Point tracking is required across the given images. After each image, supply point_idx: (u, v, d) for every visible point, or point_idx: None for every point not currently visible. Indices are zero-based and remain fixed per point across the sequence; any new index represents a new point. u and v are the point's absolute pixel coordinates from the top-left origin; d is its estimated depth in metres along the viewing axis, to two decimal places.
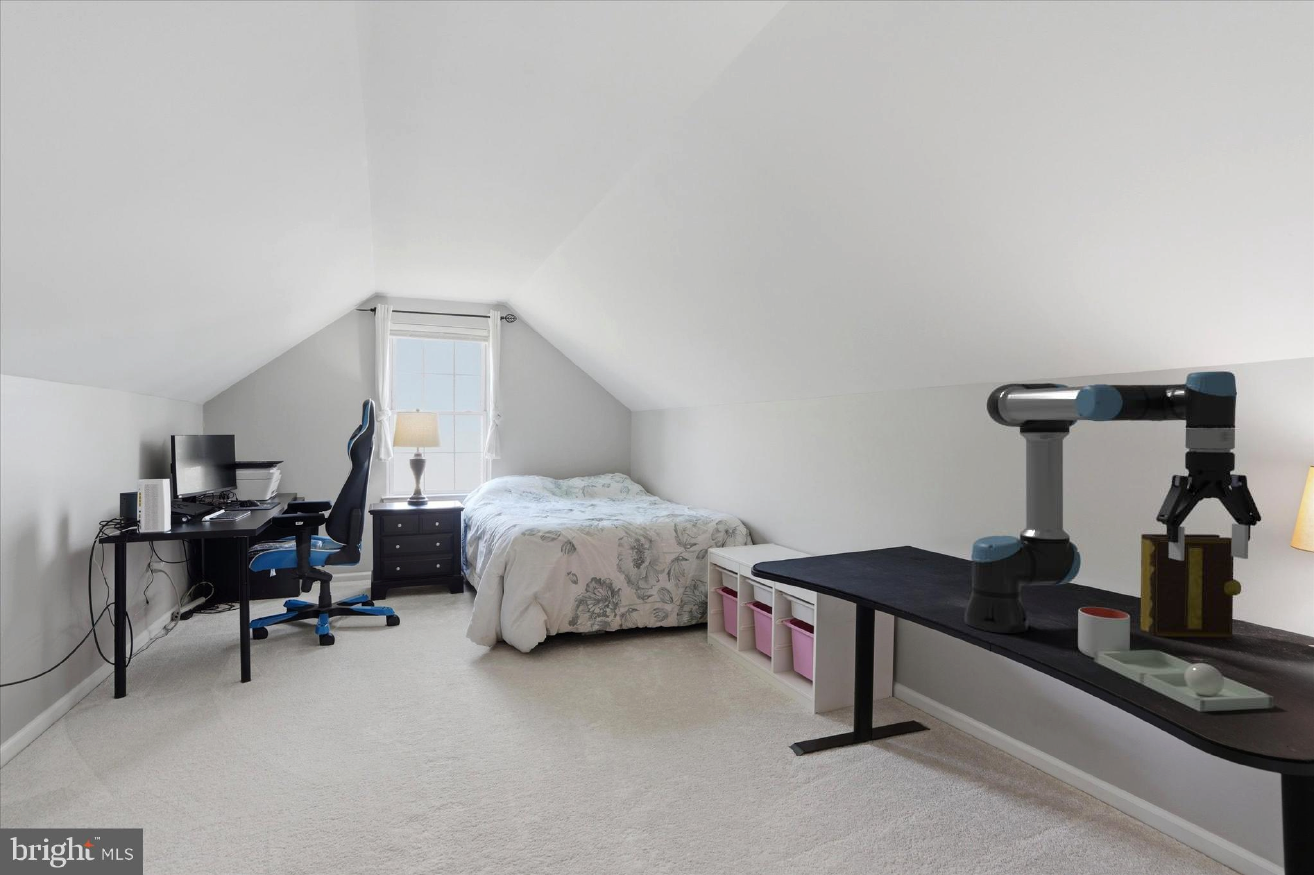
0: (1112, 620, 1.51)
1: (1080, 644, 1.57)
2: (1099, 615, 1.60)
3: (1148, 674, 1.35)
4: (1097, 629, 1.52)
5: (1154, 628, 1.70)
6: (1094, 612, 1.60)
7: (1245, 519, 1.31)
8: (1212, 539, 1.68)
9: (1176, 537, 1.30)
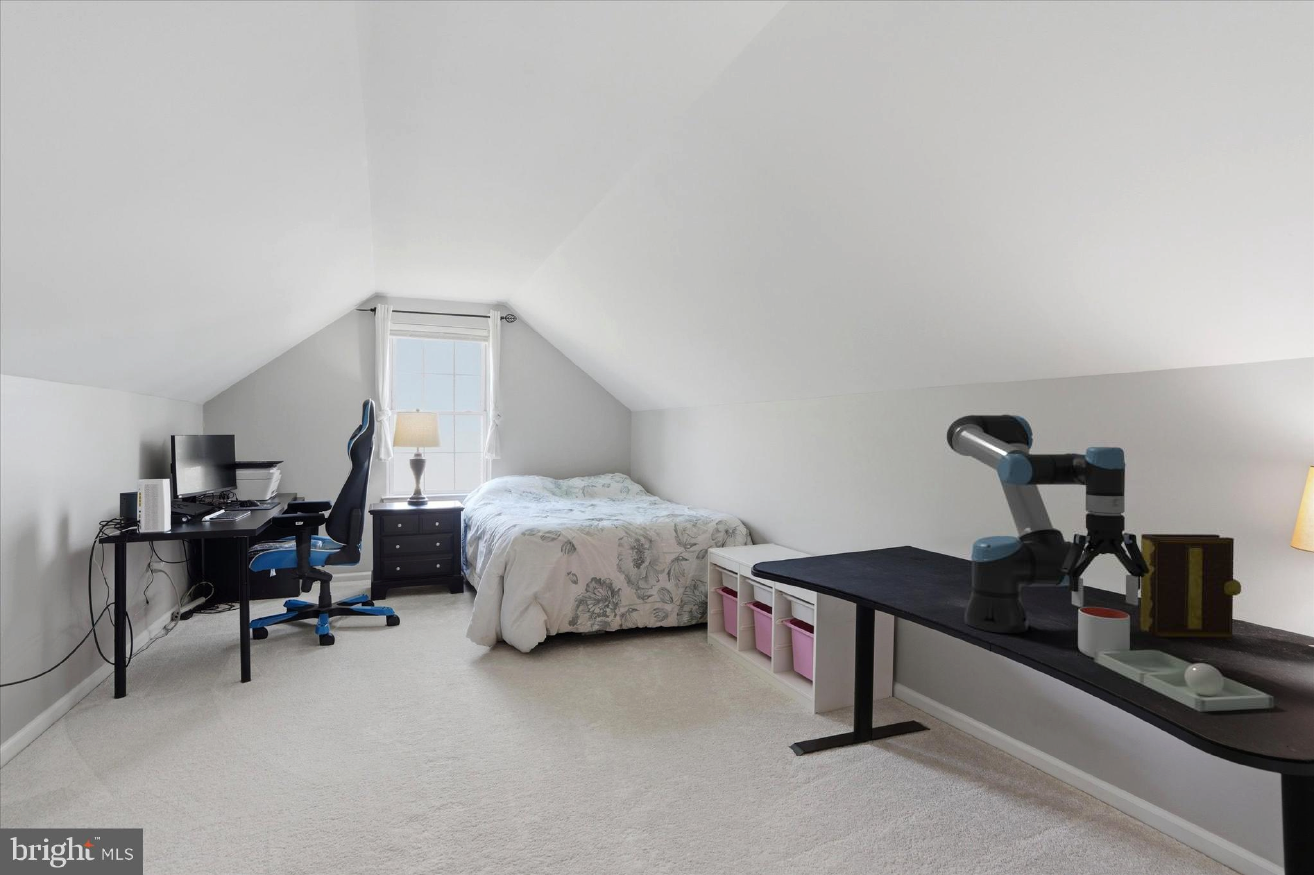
0: (1112, 620, 1.51)
1: (1080, 644, 1.57)
2: (1099, 615, 1.60)
3: (1148, 674, 1.35)
4: (1097, 629, 1.52)
5: (1154, 628, 1.70)
6: (1094, 612, 1.60)
7: (1135, 571, 1.55)
8: (1212, 539, 1.68)
9: (1077, 587, 1.54)
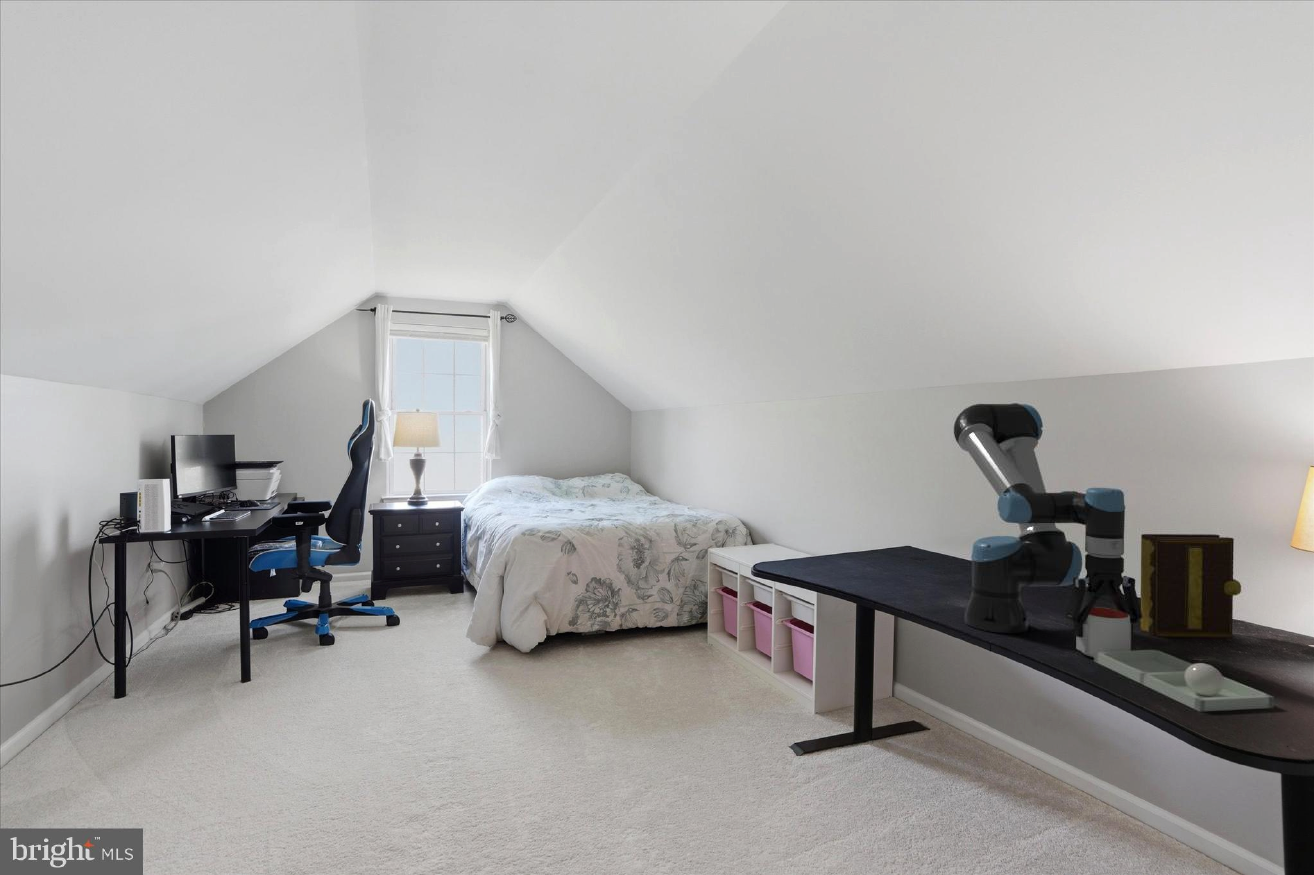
0: (1112, 620, 1.51)
1: None
2: (1099, 615, 1.60)
3: (1148, 674, 1.35)
4: (1097, 628, 1.52)
5: (1154, 628, 1.70)
6: (1094, 612, 1.60)
7: None
8: (1212, 539, 1.68)
9: (1081, 632, 1.55)
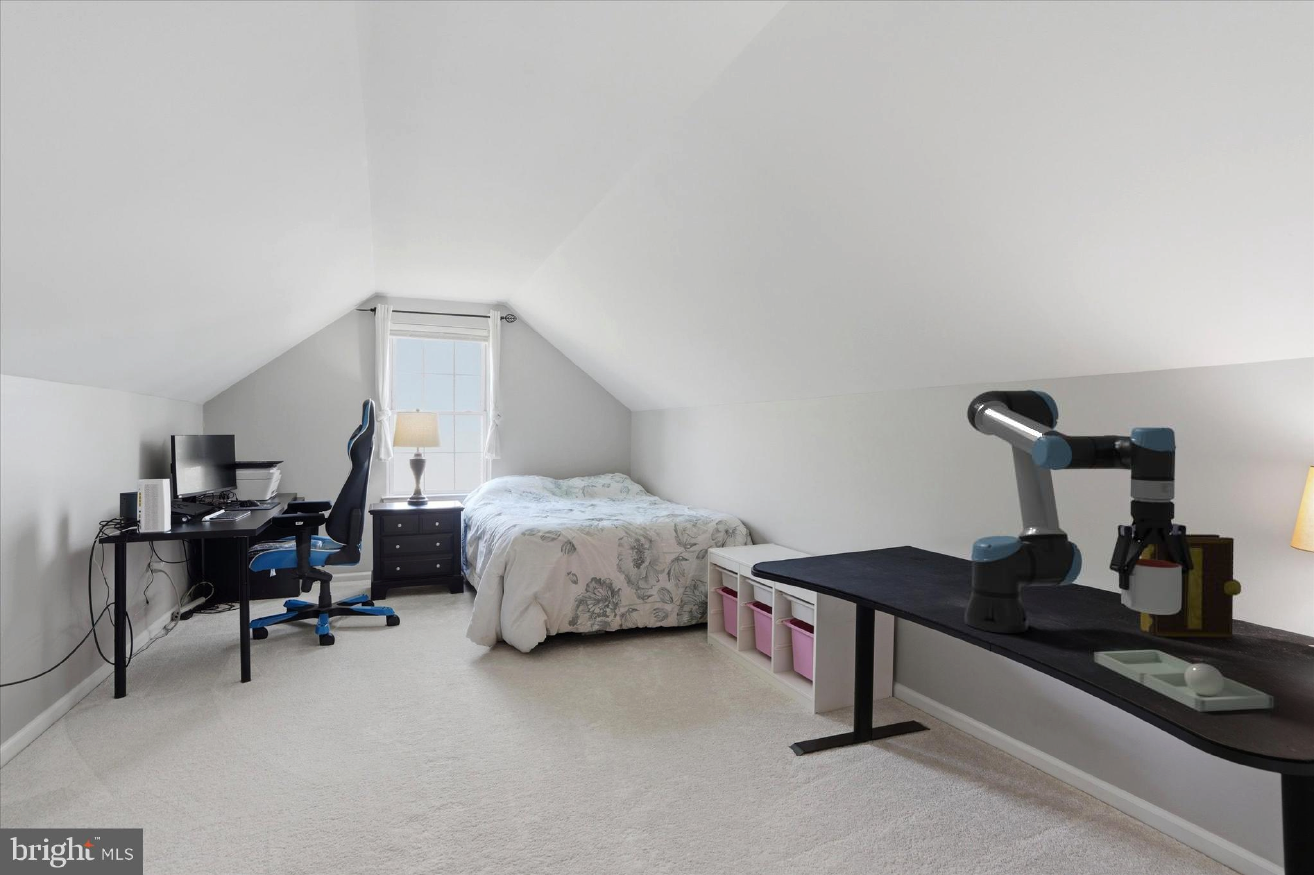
0: (1162, 569, 1.37)
1: None
2: None
3: (1148, 674, 1.35)
4: (1146, 579, 1.39)
5: (1154, 627, 1.70)
6: (1140, 564, 1.47)
7: None
8: (1212, 539, 1.68)
9: (1128, 584, 1.41)
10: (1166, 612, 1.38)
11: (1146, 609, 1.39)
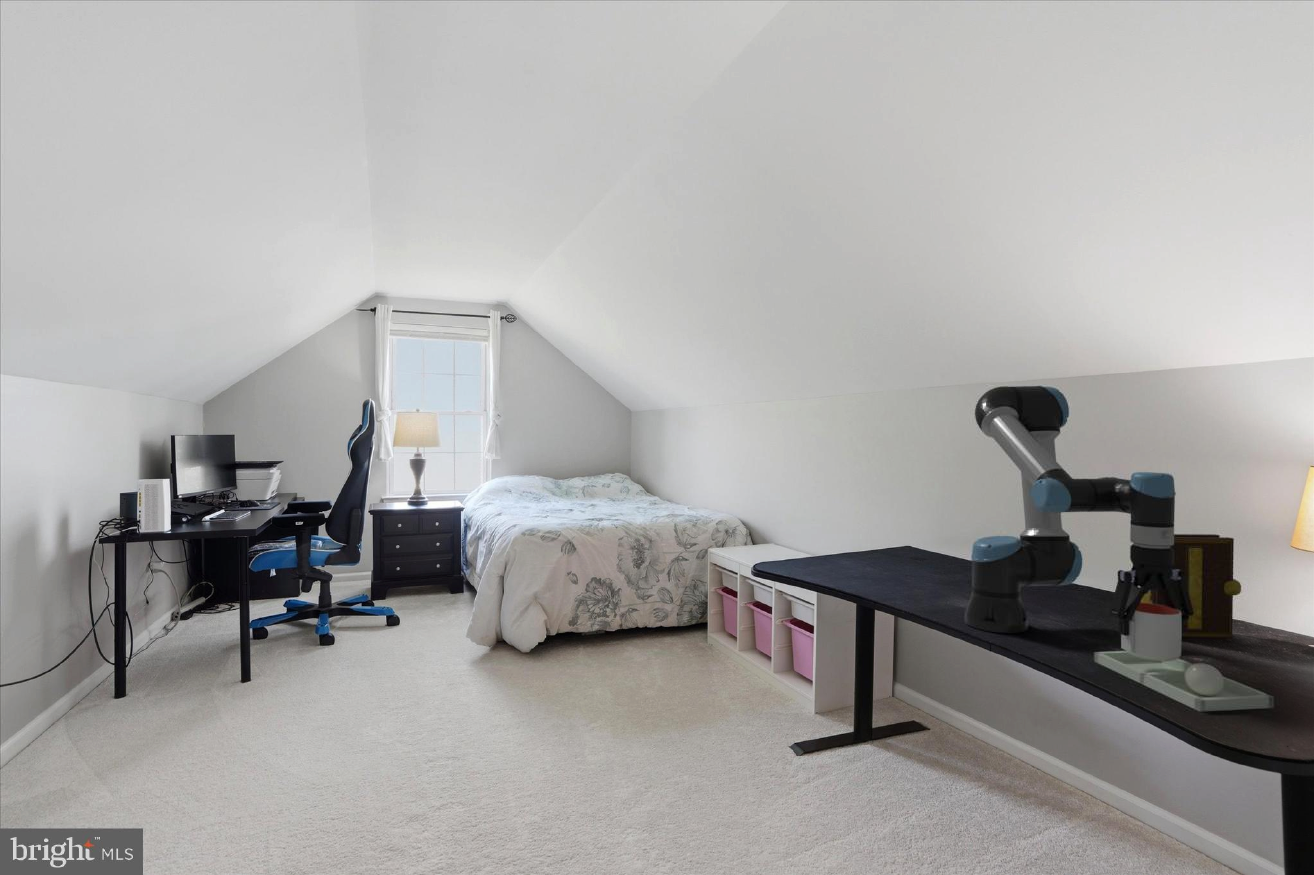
0: (1162, 616, 1.38)
1: None
2: (1145, 611, 1.47)
3: (1148, 674, 1.35)
4: (1145, 626, 1.39)
5: None
6: (1139, 608, 1.47)
7: None
8: (1212, 539, 1.68)
9: (1128, 630, 1.41)
10: (1166, 659, 1.38)
11: (1146, 655, 1.39)
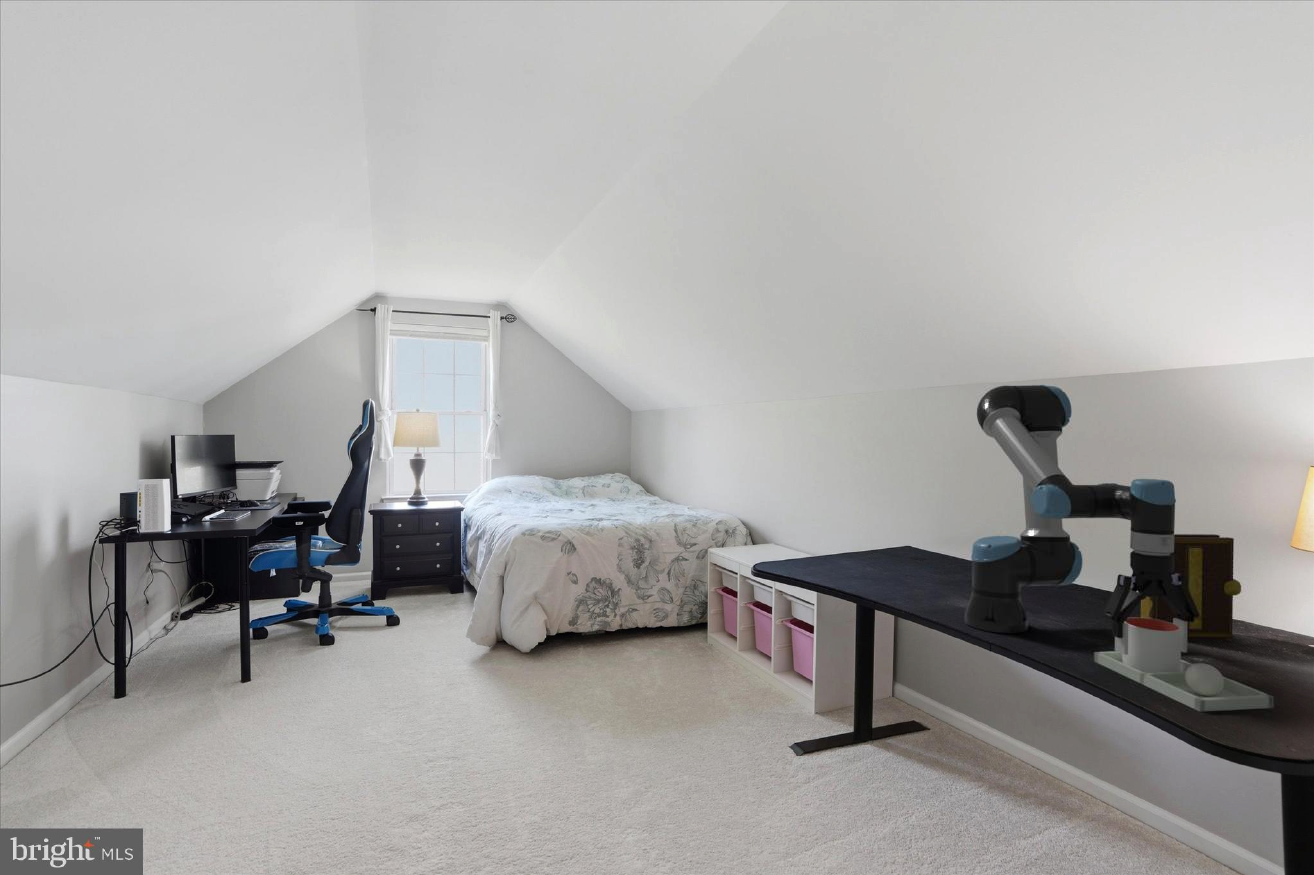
0: (1162, 633, 1.38)
1: (1125, 658, 1.44)
2: (1146, 626, 1.47)
3: (1148, 674, 1.35)
4: (1145, 642, 1.39)
5: None
6: (1140, 623, 1.47)
7: (1184, 616, 1.42)
8: (1212, 539, 1.68)
9: (1121, 632, 1.41)
10: None
11: (1145, 671, 1.40)
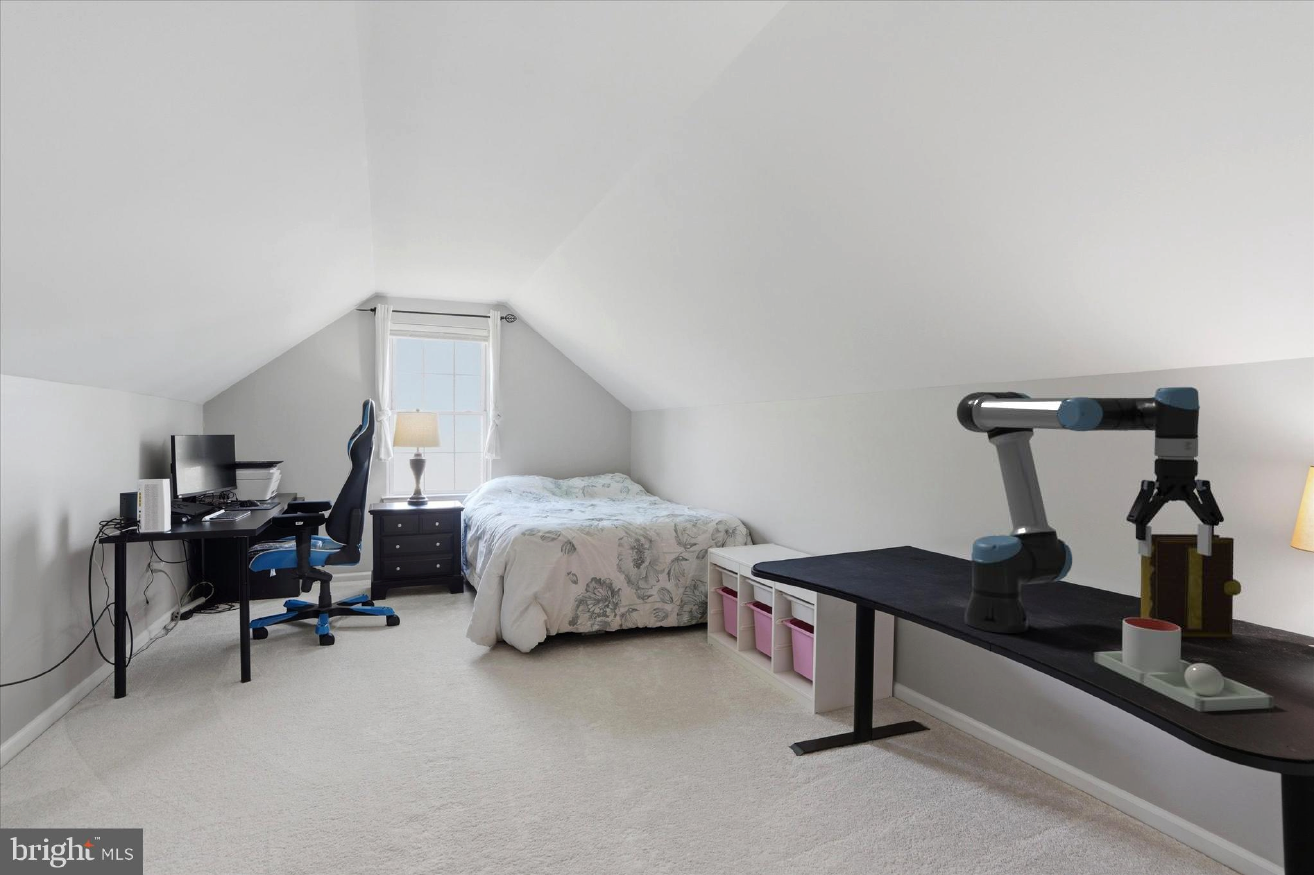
0: (1161, 633, 1.38)
1: (1125, 658, 1.44)
2: (1145, 626, 1.47)
3: (1148, 674, 1.35)
4: (1144, 642, 1.39)
5: None
6: (1140, 623, 1.47)
7: (1208, 520, 1.45)
8: None
9: (1144, 535, 1.45)
10: None
11: (1145, 671, 1.40)
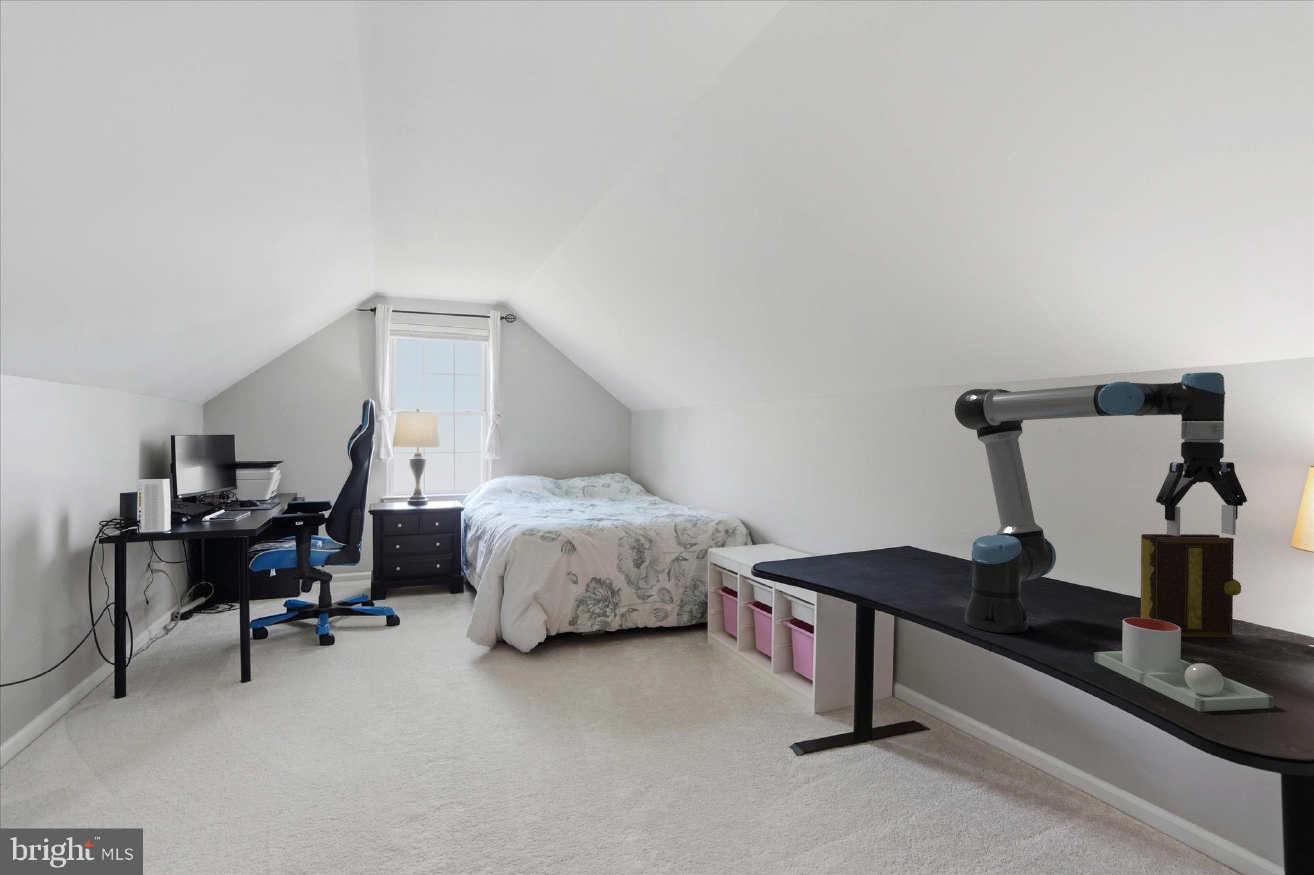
0: (1161, 633, 1.38)
1: (1125, 658, 1.44)
2: (1145, 626, 1.47)
3: (1148, 674, 1.35)
4: (1144, 642, 1.39)
5: None
6: (1140, 623, 1.47)
7: (1233, 500, 1.51)
8: (1212, 539, 1.68)
9: (1173, 515, 1.50)
10: None
11: (1145, 671, 1.40)
